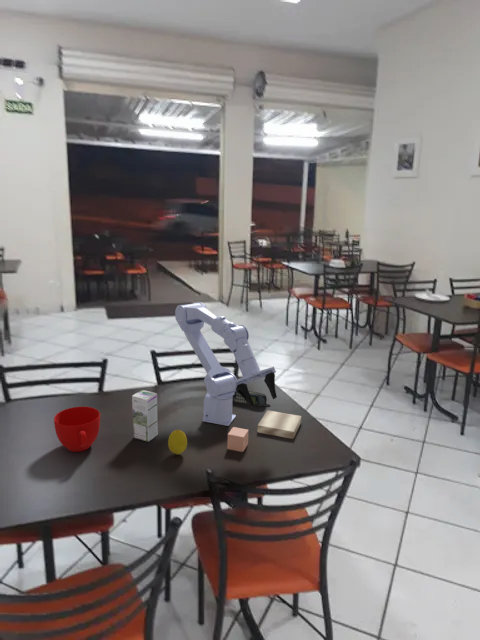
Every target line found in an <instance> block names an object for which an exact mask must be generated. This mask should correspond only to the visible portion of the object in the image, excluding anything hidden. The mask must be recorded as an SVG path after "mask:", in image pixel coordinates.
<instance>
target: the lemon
mask: <svg viewBox="0 0 480 640" xmlns="http://www.w3.org/2000/svg"><path fill="white" fill-rule="evenodd" d="M167 445H168V446H167V447H168V449H169V452H171V453H173V454H175V455H181V454H183V453H184V452H185V451H186V449H187V446H188V438H187V435H186V433H185V432H184V431H182V430H181V429H176V430H173V431H172V432H171V433H170V434H169V436H168V440H167Z"/></svg>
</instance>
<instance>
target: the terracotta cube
mask: <svg viewBox="0 0 480 640" xmlns="http://www.w3.org/2000/svg"><path fill="white" fill-rule="evenodd" d="M249 431H250V430H249V429H248V428H247V429H246V428H241V427H236V426H233V427H231V429H230V431H229V432H228V433H227V447H226V448H227V450H231V451H235V452H240V453H243V452H244V451H245V449H246V448H247V446H248V445H249V433H250V432H249Z"/></svg>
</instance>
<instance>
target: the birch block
mask: <svg viewBox="0 0 480 640" xmlns="http://www.w3.org/2000/svg"><path fill="white" fill-rule="evenodd" d="M301 424H302V415H297V414H290V413H284V412H279V411H274V410H269V409H267V410H266V412H265V413H264V415H263V416H262V418H261V419H260V420H259V422H258V424H257V433H259V434H266V435H269V436H275V437H276V436H277V437H282V438H286V439H290V440H294V438H295V437H296V434H297V432H298V431H299V428H300V426H301Z"/></svg>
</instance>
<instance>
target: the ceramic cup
mask: <svg viewBox="0 0 480 640" xmlns="http://www.w3.org/2000/svg"><path fill="white" fill-rule="evenodd" d="M53 424H54V430H55V435H56V437H57V439H58V441H59V442H60V443H61V445H62V446H63V447H65V448H66V449H67V450H68V451H69V452H72V453H79V452H83V451H86V450H88V449H89V448H91V446H92V445H93V444H94V443H95V441H96V440H97V438H98V435H99V431H100V427H101V412H100V411H99V410H98V409H97V408H94V407H91V406H74V407H69V408H66V409H63V410H61V411H59V412H57V413H56V414H55V415H54V418H53Z"/></svg>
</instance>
